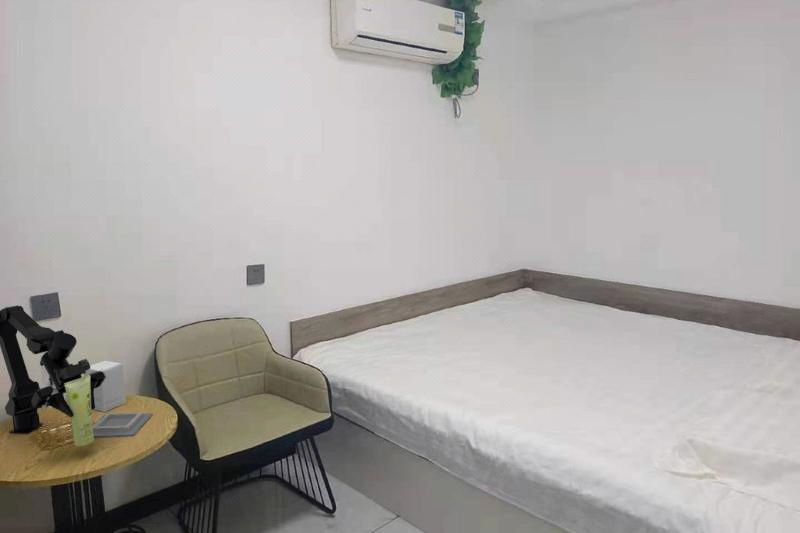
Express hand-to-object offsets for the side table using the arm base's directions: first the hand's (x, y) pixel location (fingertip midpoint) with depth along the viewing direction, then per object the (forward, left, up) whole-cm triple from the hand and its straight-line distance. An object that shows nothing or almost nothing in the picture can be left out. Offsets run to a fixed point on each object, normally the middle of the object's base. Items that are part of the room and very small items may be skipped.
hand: (83, 412), depth 156 cm
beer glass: (-36, +34, -13) cm, 51 cm away
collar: (-3, +20, -13) cm, 24 cm away
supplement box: (-17, +35, -13) cm, 41 cm away
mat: (-3, +20, -13) cm, 24 cm away
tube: (-1, +1, -10) cm, 10 cm away
